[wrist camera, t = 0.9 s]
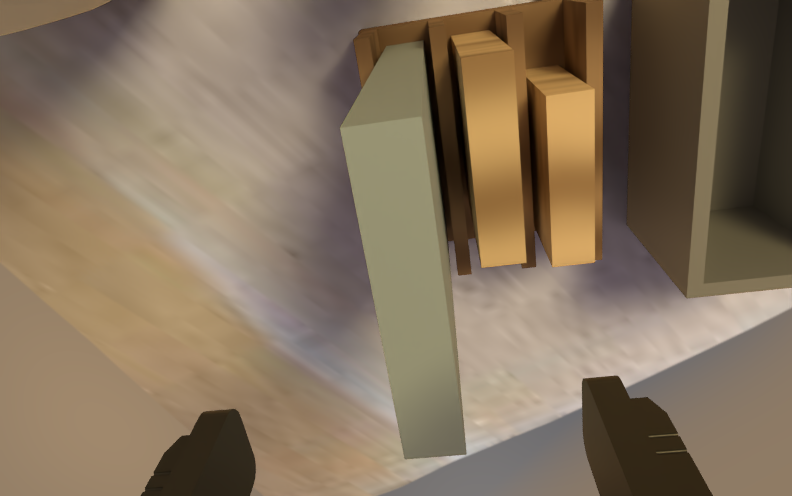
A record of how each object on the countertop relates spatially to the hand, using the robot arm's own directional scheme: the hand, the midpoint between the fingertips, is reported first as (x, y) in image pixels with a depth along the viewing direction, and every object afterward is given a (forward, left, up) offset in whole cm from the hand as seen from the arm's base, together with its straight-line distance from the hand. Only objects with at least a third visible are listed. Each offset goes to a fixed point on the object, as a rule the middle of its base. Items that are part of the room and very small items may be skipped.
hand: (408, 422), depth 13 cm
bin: (0, +18, -27) cm, 32 cm away
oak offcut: (-1, +4, -25) cm, 25 cm away
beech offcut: (+1, +8, -25) cm, 26 cm away
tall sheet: (0, 0, -25) cm, 25 cm away
